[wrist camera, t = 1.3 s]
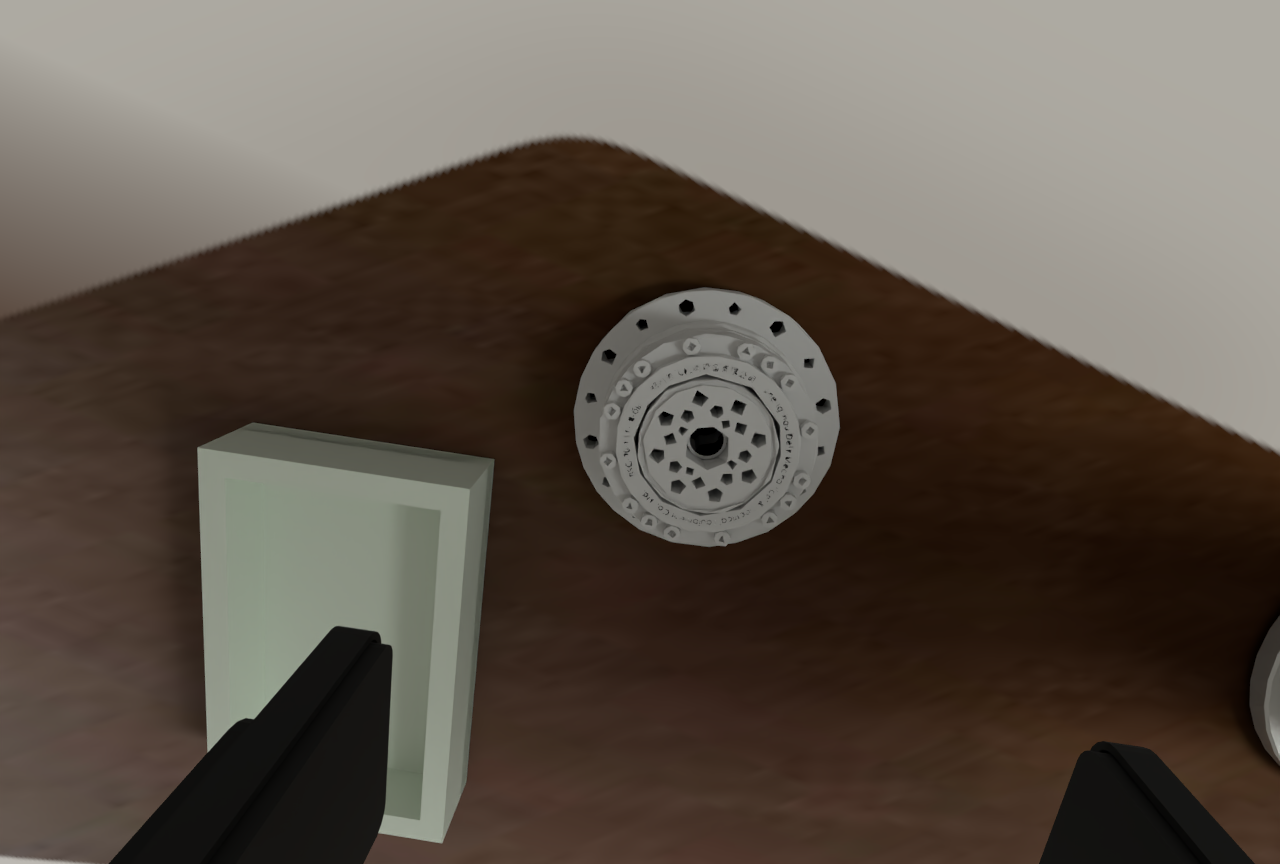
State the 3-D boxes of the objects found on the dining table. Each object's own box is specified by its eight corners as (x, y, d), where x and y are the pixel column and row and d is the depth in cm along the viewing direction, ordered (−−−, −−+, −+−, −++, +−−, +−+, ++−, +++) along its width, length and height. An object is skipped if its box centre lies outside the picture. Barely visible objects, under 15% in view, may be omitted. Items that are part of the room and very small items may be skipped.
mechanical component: (886, 386, 28) (675, 232, 27) (922, 415, 24) (673, 233, 23) (729, 575, 30) (531, 441, 29) (737, 632, 26) (505, 478, 25)
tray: (494, 459, 29) (469, 488, 26) (466, 781, 34) (442, 843, 30) (253, 422, 30) (197, 447, 26) (256, 748, 34) (209, 805, 31)
